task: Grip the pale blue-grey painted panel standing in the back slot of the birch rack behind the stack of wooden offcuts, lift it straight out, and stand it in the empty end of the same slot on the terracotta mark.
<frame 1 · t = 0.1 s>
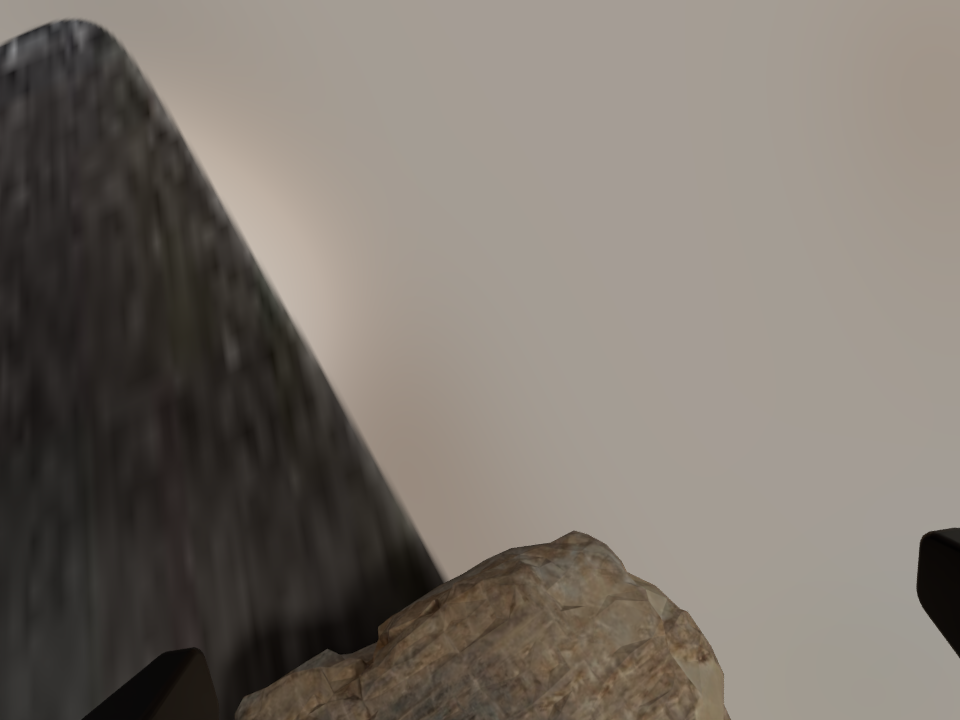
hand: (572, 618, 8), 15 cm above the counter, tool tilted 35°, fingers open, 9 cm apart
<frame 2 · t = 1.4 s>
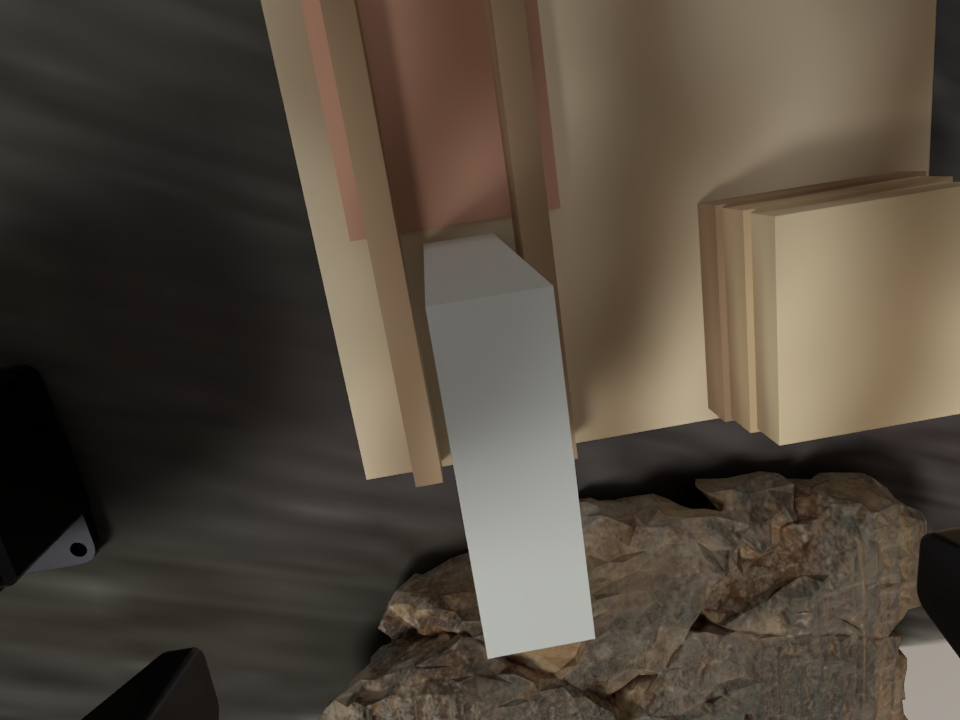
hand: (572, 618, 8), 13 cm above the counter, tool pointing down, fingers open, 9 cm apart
craggy brown boulder: (599, 641, 25), on the counter
rack: (621, 205, 20), on the counter
walnut offcut: (798, 294, 20), point 1 cm above the counter, touching oak offcut, rack
panel: (475, 348, 20), point 1 cm above the counter, touching rack
pine offcut: (847, 310, 18), point 3 cm above the counter, touching oak offcut
oak offcut: (821, 301, 19), point 2 cm above the counter, touching pine offcut, walnut offcut
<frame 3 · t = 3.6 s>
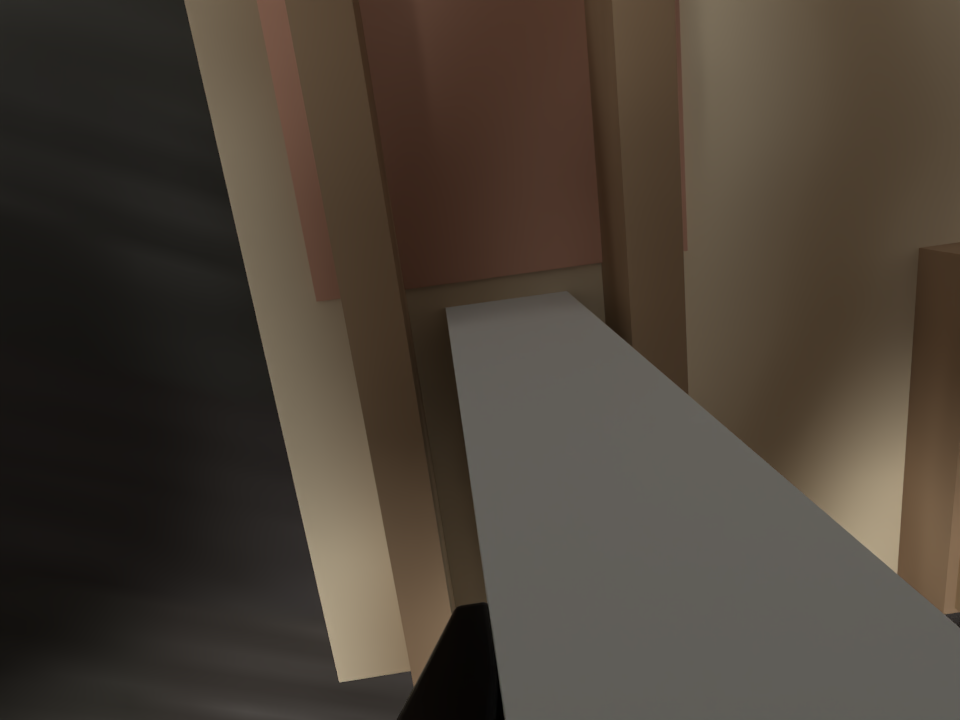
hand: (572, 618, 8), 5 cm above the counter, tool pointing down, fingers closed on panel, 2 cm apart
rack: (778, 246, 12), on the counter
panel: (527, 481, 12), point 1 cm above the counter, touching gripper, rack
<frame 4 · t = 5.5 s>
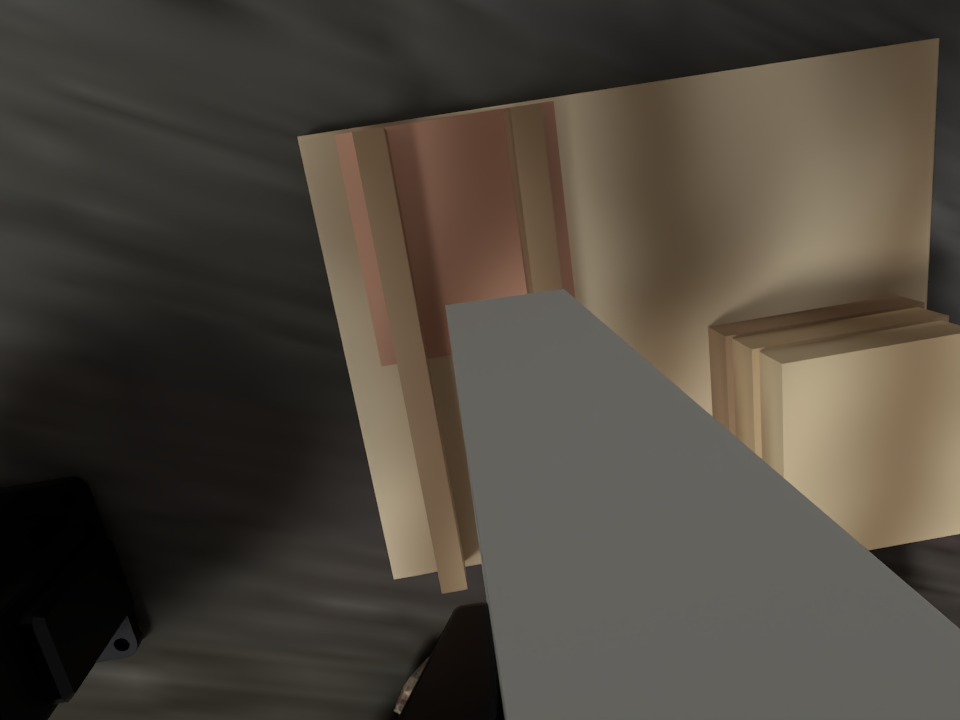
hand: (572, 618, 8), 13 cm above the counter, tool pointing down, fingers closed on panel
craggy brown boulder: (606, 711, 26), on the counter
rack: (635, 325, 21), on the counter
walnut offcut: (803, 407, 21), point 1 cm above the counter, touching oak offcut, rack
panel: (525, 475, 12), point 9 cm above the counter, touching gripper
pine offcut: (849, 435, 19), point 3 cm above the counter, touching oak offcut
oak offcut: (825, 420, 20), point 2 cm above the counter, touching pine offcut, walnut offcut
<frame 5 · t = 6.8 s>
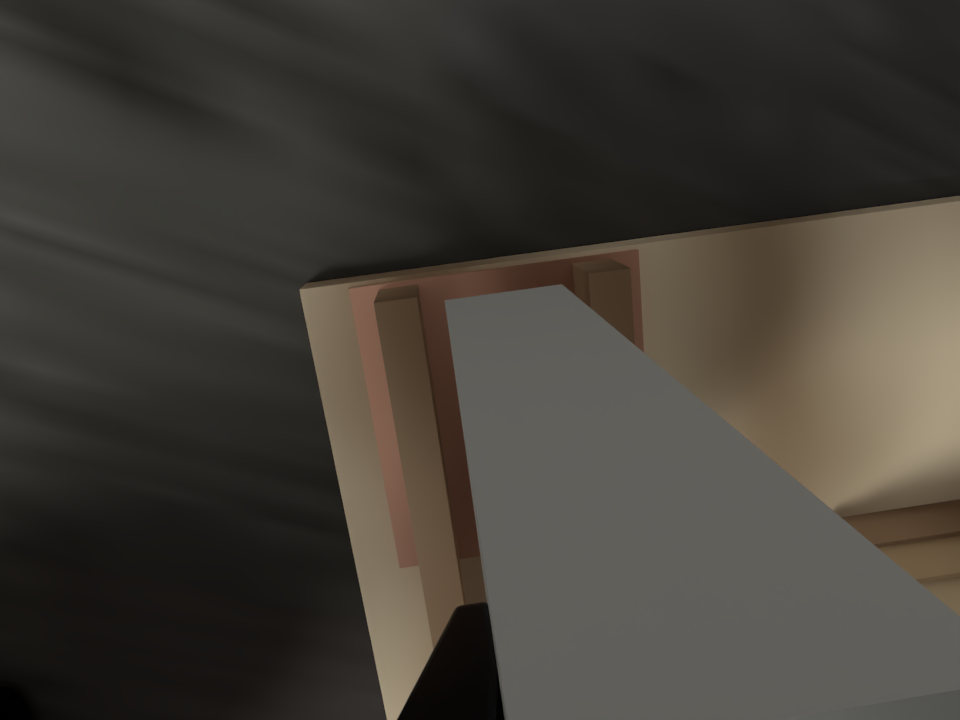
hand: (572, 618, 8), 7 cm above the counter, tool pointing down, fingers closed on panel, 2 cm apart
rack: (720, 509, 17), on the counter
walnut offcut: (925, 613, 17), point 1 cm above the counter, touching oak offcut, rack
panel: (523, 469, 12), point 3 cm above the counter, touching gripper
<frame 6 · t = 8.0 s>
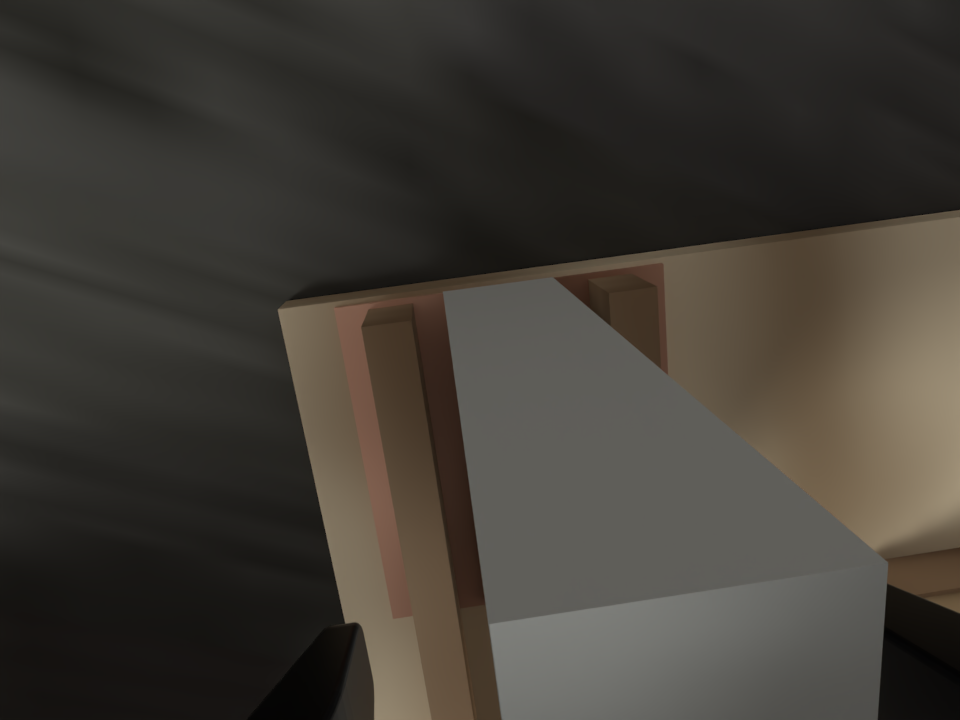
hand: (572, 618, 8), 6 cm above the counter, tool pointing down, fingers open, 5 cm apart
rack: (749, 549, 15), on the counter
panel: (516, 451, 13), point 1 cm above the counter, touching rack
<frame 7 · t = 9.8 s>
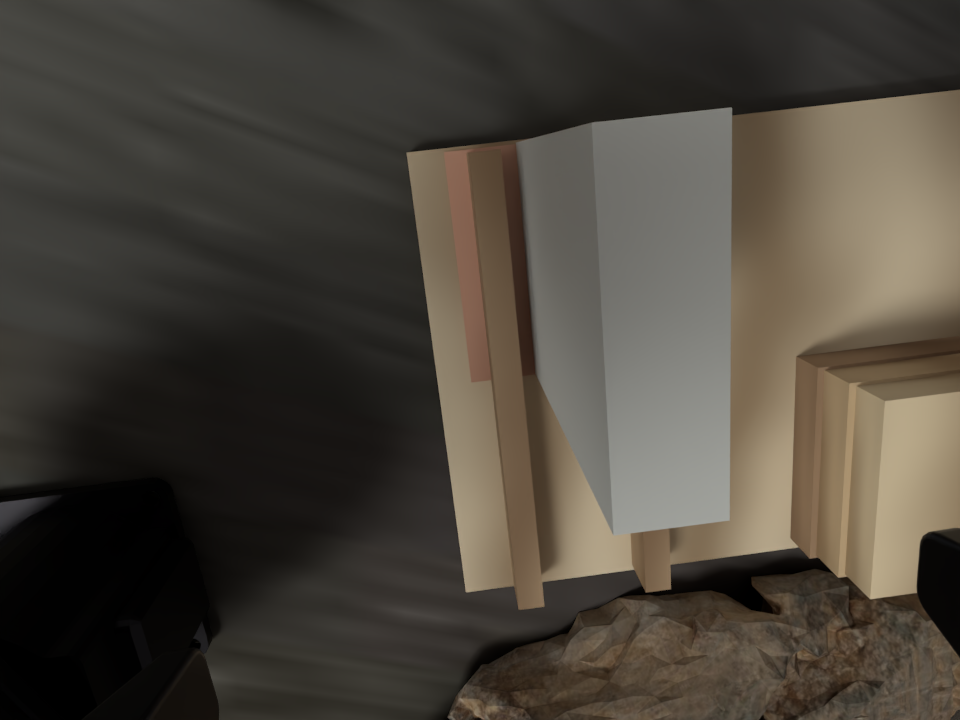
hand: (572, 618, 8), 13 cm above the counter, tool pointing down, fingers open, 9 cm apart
rack: (721, 351, 21), on the counter
walnut offcut: (883, 439, 21), point 1 cm above the counter, touching oak offcut, rack
panel: (560, 259, 19), point 1 cm above the counter, touching rack
pine offcut: (938, 472, 19), point 3 cm above the counter, touching oak offcut
oak offcut: (909, 455, 20), point 2 cm above the counter, touching pine offcut, walnut offcut
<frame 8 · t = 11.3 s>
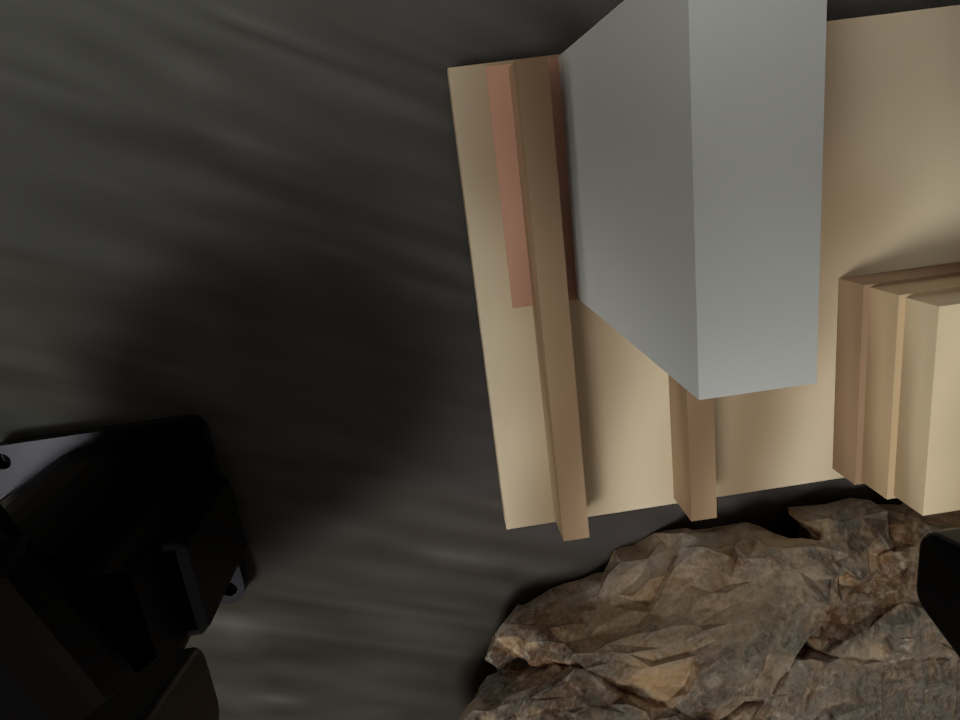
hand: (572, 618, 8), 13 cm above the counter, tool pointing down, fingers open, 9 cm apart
craggy brown boulder: (690, 664, 25), on the counter
rack: (761, 276, 21), on the counter
walnut offcut: (925, 364, 21), point 1 cm above the counter, touching oak offcut, rack
panel: (603, 178, 19), point 1 cm above the counter, touching rack
oak offcut: (954, 375, 20), point 2 cm above the counter, touching pine offcut, walnut offcut
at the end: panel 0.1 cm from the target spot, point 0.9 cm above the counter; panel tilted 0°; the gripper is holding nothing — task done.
